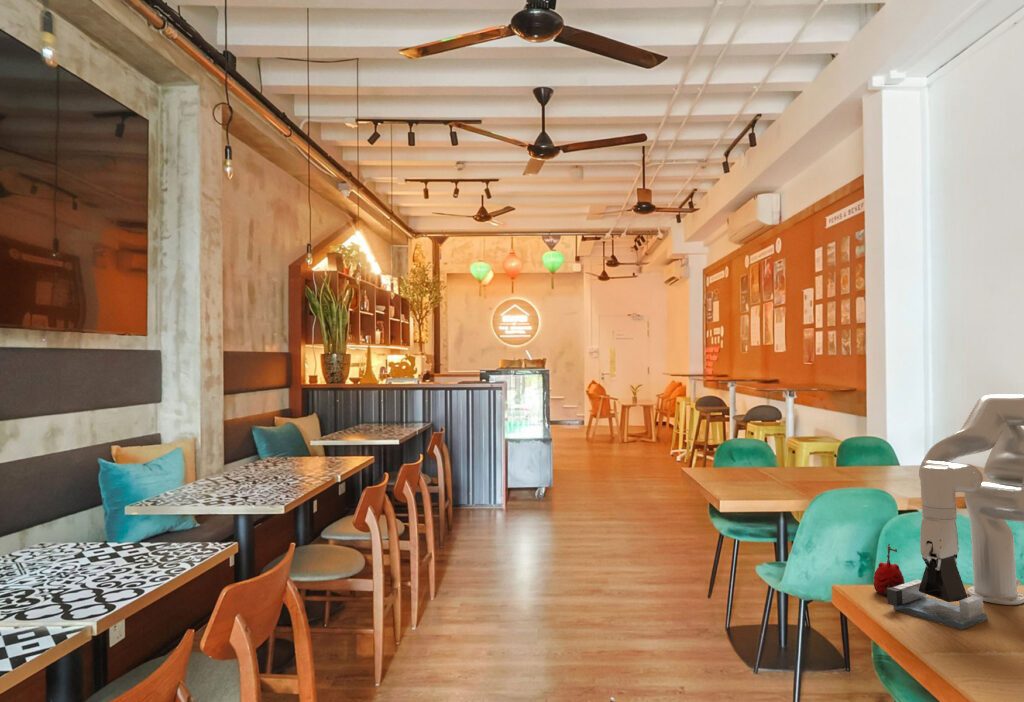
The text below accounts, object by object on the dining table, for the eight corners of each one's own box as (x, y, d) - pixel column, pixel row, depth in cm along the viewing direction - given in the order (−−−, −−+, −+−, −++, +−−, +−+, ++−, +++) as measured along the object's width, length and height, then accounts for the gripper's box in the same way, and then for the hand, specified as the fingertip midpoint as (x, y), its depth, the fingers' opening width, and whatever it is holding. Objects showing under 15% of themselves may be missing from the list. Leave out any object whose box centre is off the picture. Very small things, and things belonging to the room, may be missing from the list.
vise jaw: (917, 593, 176) (916, 579, 176) (926, 596, 173) (926, 581, 173) (887, 603, 169) (886, 588, 169) (897, 606, 167) (896, 591, 167)
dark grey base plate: (919, 600, 175) (918, 580, 176) (987, 619, 161) (985, 597, 161) (893, 609, 170) (892, 588, 170) (961, 630, 155) (960, 607, 155)
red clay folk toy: (903, 592, 182) (900, 539, 183) (906, 600, 176) (904, 545, 176) (873, 589, 185) (870, 537, 186) (875, 597, 179) (872, 543, 179)
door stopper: (968, 600, 163) (965, 552, 163) (949, 602, 161) (947, 554, 161) (936, 588, 171) (934, 544, 172) (918, 591, 170) (916, 546, 170)
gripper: (941, 506, 174) (944, 573, 174) (905, 514, 166) (908, 584, 165) (972, 511, 168) (975, 580, 167) (936, 519, 159) (939, 592, 159)
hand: (942, 581), depth 166 cm, fingers closed on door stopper, 6 cm apart
